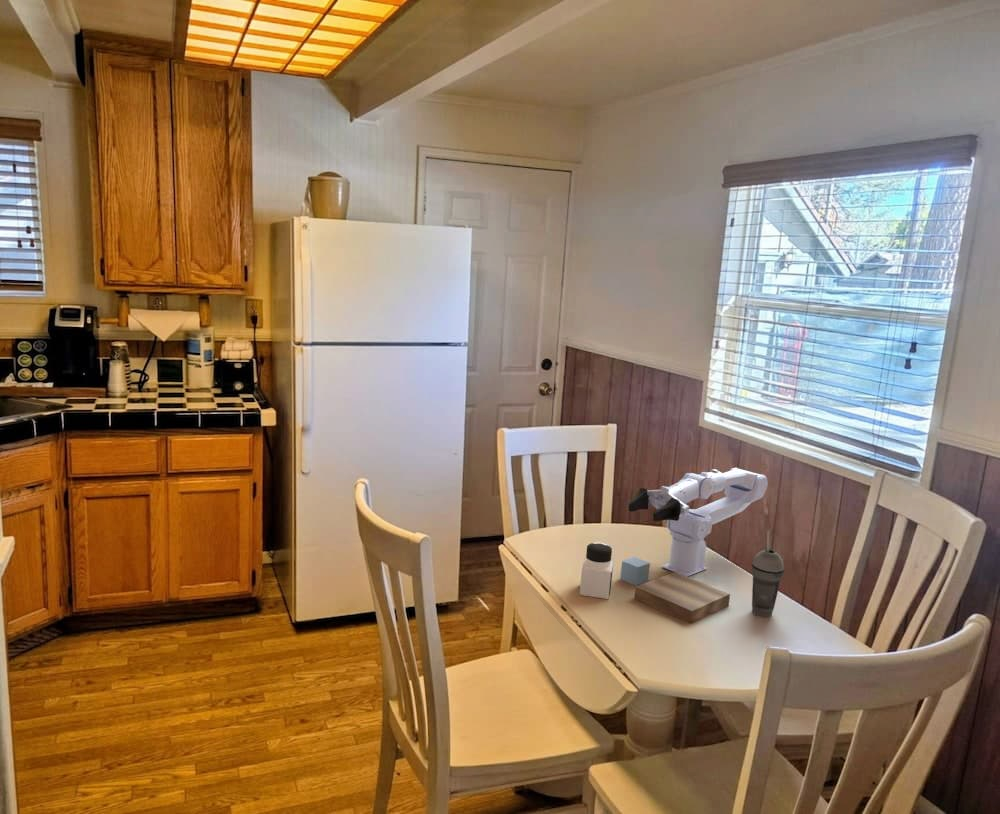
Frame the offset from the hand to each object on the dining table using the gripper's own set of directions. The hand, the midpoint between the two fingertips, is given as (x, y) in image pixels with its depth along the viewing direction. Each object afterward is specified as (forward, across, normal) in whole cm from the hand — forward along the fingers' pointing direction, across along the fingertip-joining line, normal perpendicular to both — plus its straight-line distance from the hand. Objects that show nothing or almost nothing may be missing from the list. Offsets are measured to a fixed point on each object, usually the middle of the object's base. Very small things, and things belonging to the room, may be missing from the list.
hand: (641, 512), depth 187 cm
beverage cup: (-10, +28, +21) cm, 36 cm away
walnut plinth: (+1, +13, +19) cm, 23 cm away
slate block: (0, -2, +20) cm, 20 cm away
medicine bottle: (+14, -3, +18) cm, 23 cm away
